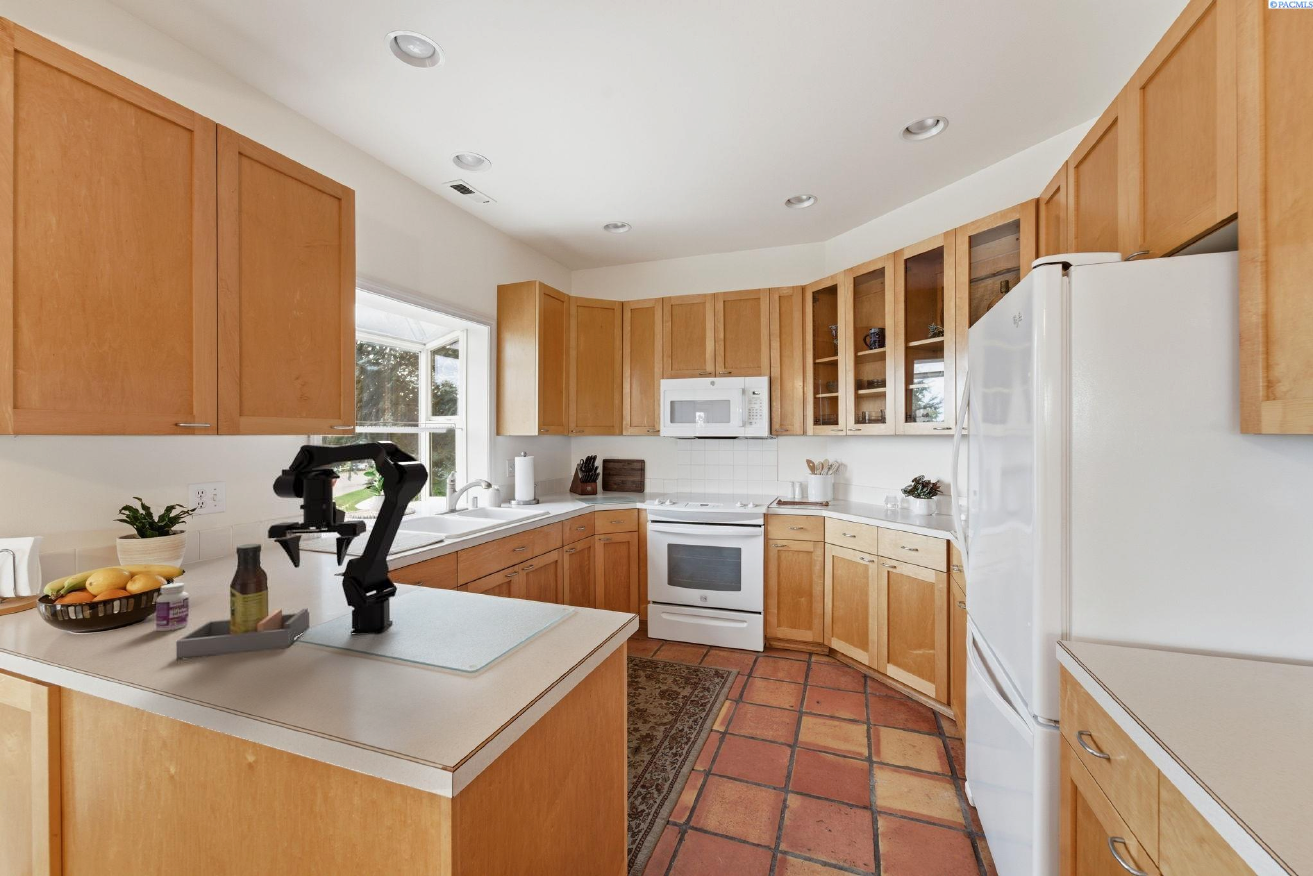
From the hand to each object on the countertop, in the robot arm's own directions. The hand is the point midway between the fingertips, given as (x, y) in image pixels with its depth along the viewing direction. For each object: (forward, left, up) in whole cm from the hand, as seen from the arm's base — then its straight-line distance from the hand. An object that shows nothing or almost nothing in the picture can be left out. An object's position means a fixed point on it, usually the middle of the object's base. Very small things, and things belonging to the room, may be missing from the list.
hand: (318, 566), depth 119 cm
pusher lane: (+10, +10, -13) cm, 19 cm away
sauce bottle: (+9, +10, -13) cm, 18 cm away
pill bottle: (+32, -2, -13) cm, 35 cm away
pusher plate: (+5, +9, -12) cm, 16 cm away
